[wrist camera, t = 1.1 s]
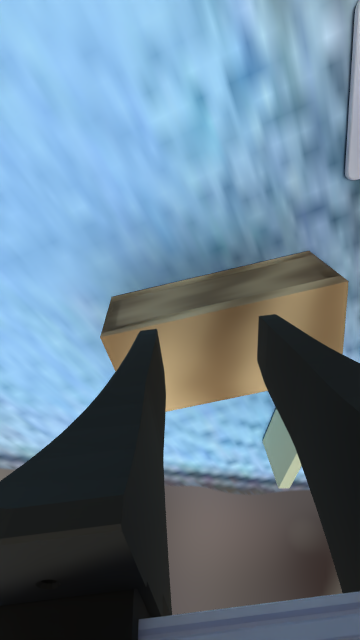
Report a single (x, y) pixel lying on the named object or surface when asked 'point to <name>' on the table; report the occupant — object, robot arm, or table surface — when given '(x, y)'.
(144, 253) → the table surface
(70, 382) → the table surface
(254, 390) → the tan wooden crate
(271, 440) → the door
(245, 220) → the table surface
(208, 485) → the table surface
